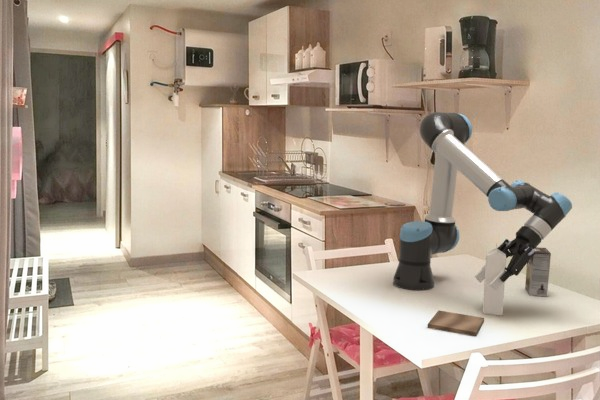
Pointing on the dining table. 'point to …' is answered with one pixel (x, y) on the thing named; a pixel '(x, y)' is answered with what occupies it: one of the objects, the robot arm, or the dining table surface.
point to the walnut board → (456, 323)
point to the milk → (492, 270)
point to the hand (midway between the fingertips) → (485, 283)
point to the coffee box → (538, 272)
